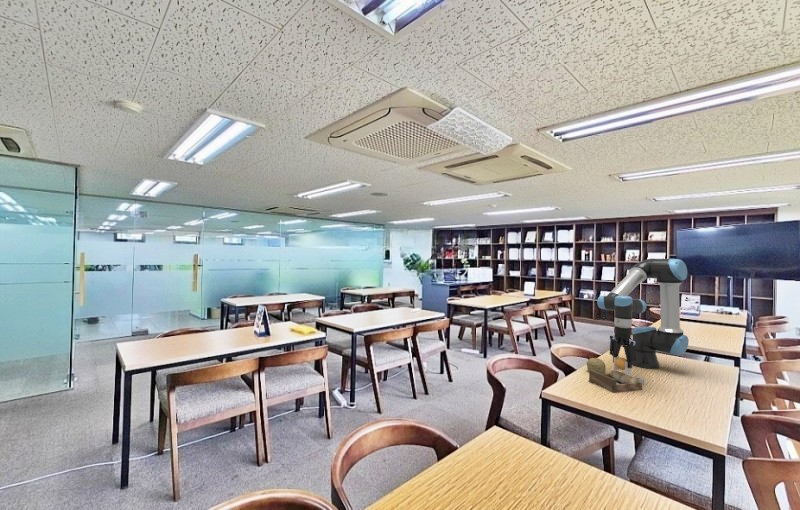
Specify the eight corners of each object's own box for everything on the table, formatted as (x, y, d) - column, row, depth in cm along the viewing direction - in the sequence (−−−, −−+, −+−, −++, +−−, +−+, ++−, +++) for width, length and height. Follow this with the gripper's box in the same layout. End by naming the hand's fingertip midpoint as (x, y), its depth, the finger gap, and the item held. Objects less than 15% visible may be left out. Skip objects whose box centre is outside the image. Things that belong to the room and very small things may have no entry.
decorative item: (602, 382, 191) (613, 367, 191) (588, 371, 191) (599, 356, 191) (593, 376, 200) (603, 362, 200) (579, 365, 200) (590, 352, 200)
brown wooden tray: (615, 379, 185) (615, 367, 185) (642, 389, 170) (642, 377, 170) (589, 381, 180) (589, 370, 180) (614, 392, 166) (614, 380, 166)
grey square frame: (637, 381, 181) (637, 376, 181) (644, 384, 178) (644, 379, 178) (632, 382, 180) (632, 377, 180) (638, 384, 177) (638, 379, 177)
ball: (621, 367, 180) (621, 355, 180) (632, 371, 174) (632, 359, 174) (612, 368, 179) (612, 356, 179) (622, 371, 173) (622, 359, 173)
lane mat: (615, 379, 185) (615, 378, 185) (642, 389, 170) (642, 389, 170) (589, 381, 180) (589, 380, 180) (614, 392, 166) (614, 391, 166)
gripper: (601, 323, 185) (600, 366, 185) (633, 330, 166) (633, 378, 166) (613, 322, 187) (612, 365, 186) (646, 330, 168) (645, 377, 168)
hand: (622, 371), depth 176 cm, fingers closed on ball, 6 cm apart
